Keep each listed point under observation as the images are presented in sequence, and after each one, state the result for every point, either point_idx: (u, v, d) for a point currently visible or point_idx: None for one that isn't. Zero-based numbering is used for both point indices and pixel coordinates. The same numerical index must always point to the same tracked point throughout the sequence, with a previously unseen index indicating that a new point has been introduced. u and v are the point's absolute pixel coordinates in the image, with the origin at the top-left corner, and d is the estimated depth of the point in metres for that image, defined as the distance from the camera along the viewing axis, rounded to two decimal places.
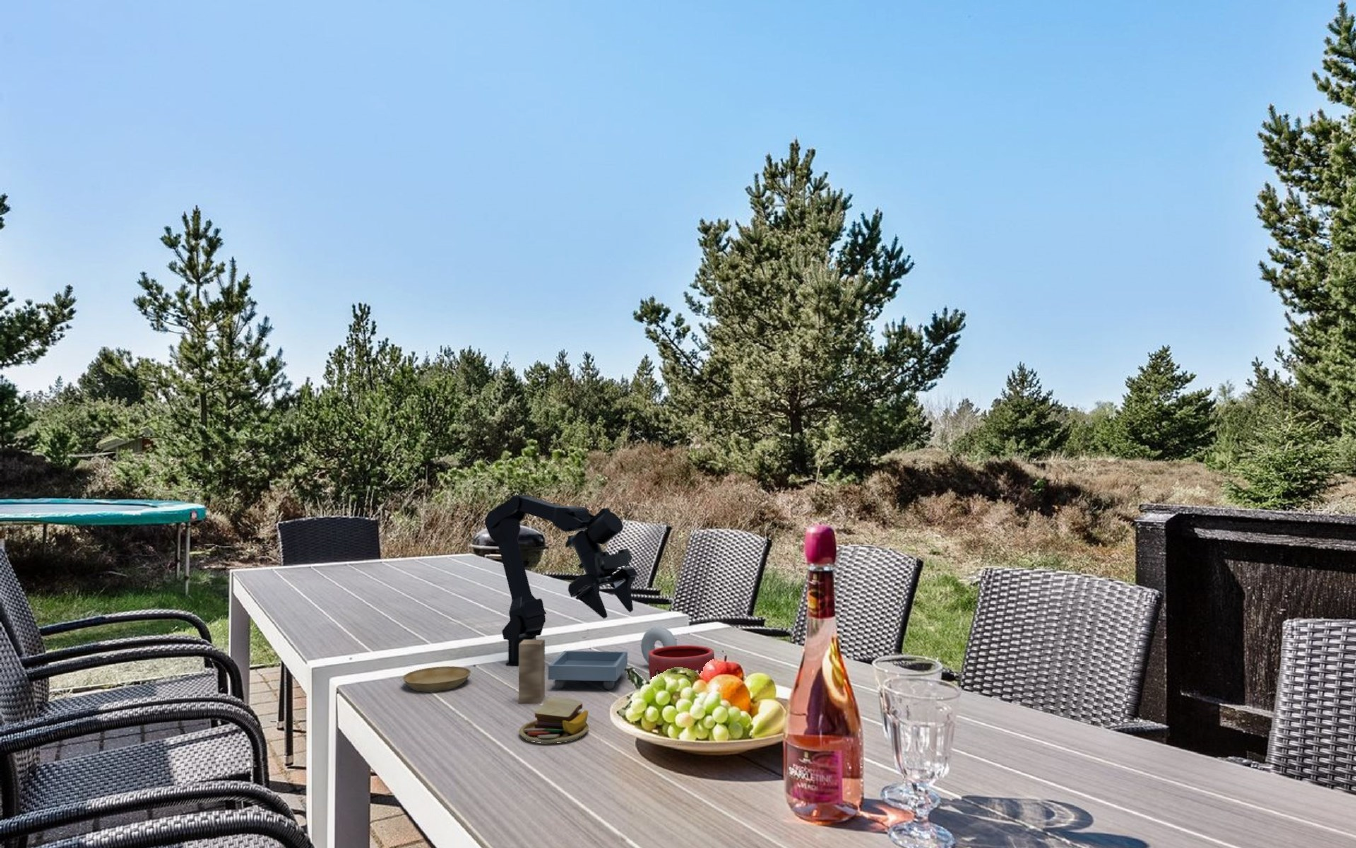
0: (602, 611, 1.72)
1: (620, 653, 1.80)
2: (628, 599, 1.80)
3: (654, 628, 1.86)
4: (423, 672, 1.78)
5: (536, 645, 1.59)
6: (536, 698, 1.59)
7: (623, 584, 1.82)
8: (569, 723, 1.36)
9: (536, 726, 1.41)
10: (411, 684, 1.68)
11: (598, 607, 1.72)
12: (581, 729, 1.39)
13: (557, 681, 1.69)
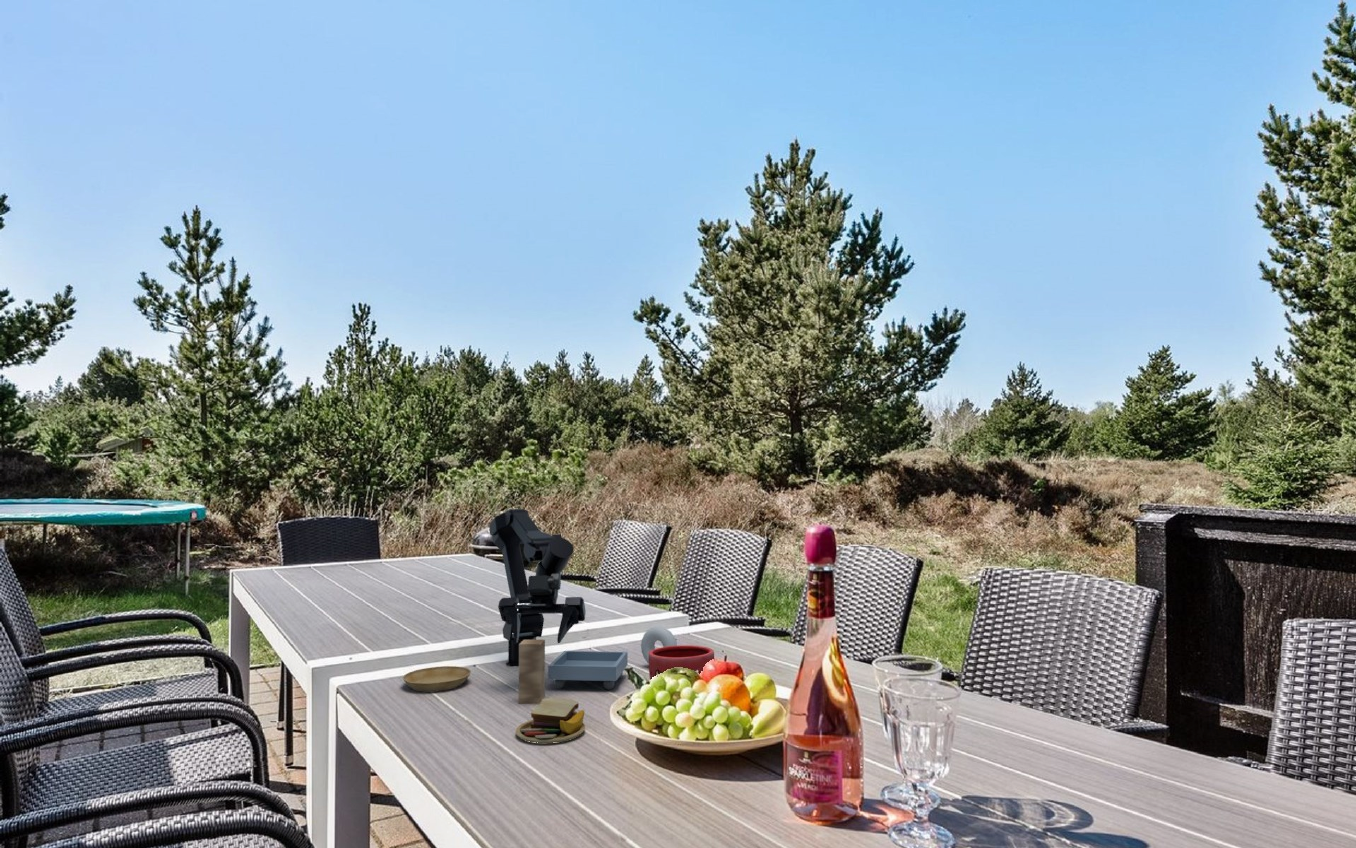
0: (513, 635, 1.67)
1: (620, 653, 1.80)
2: None
3: (654, 628, 1.86)
4: (423, 672, 1.78)
5: (536, 645, 1.59)
6: (536, 698, 1.59)
7: None
8: (566, 723, 1.36)
9: (532, 726, 1.41)
10: (411, 684, 1.68)
11: (513, 631, 1.68)
12: (578, 729, 1.39)
13: (557, 681, 1.69)
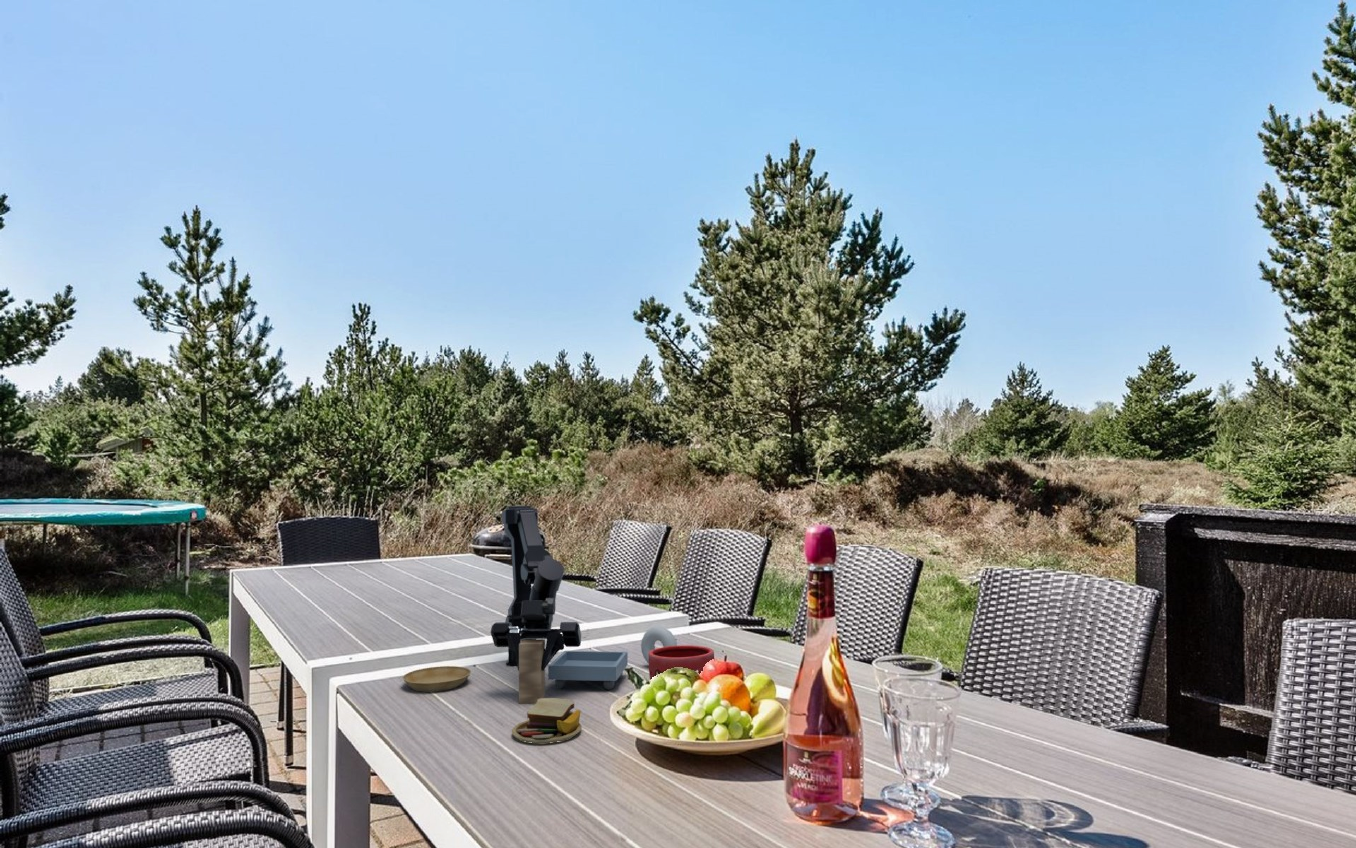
0: (516, 662, 1.61)
1: (620, 653, 1.80)
2: None
3: (654, 628, 1.86)
4: (423, 672, 1.78)
5: (536, 645, 1.59)
6: (536, 697, 1.59)
7: None
8: (563, 723, 1.36)
9: (528, 726, 1.41)
10: (411, 684, 1.68)
11: (516, 658, 1.62)
12: (574, 728, 1.40)
13: (557, 681, 1.69)
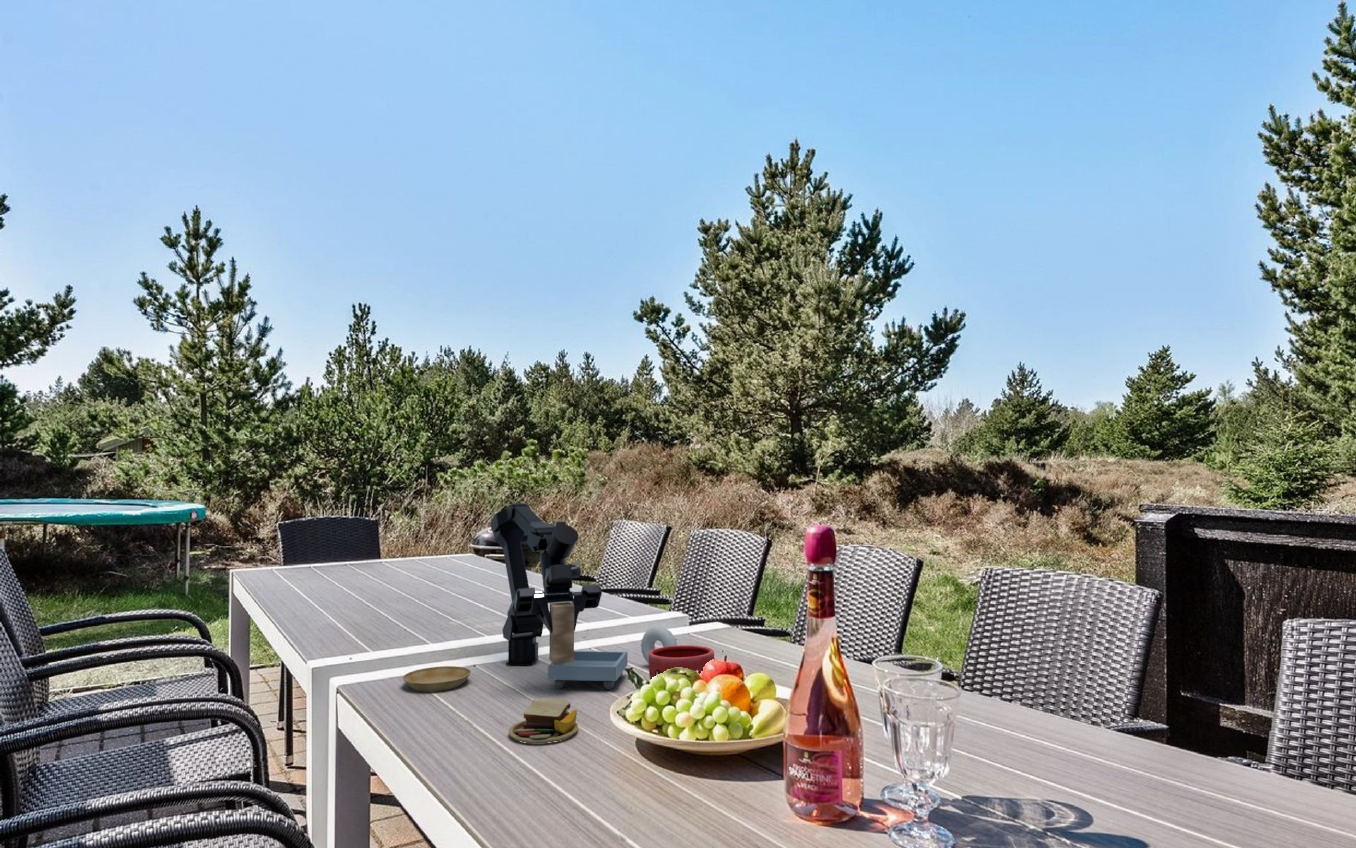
0: (548, 625, 1.65)
1: (620, 653, 1.80)
2: None
3: (654, 628, 1.86)
4: (423, 672, 1.78)
5: (570, 607, 1.65)
6: (570, 657, 1.65)
7: (572, 602, 1.70)
8: (561, 722, 1.36)
9: (525, 727, 1.41)
10: (411, 684, 1.68)
11: (546, 621, 1.66)
12: (571, 728, 1.40)
13: (557, 681, 1.69)
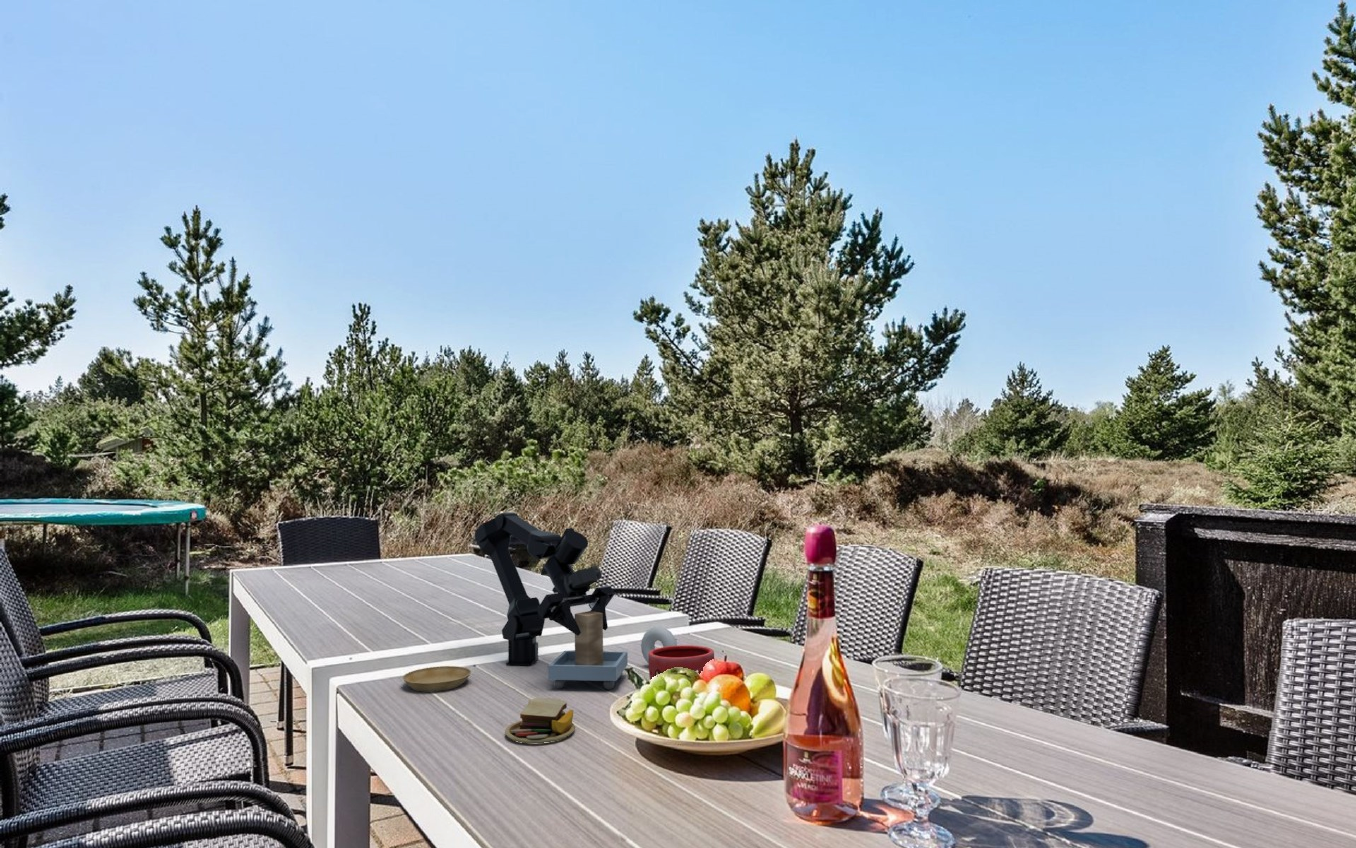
0: (575, 628, 1.71)
1: (620, 653, 1.80)
2: None
3: (654, 628, 1.86)
4: (423, 672, 1.78)
5: (599, 614, 1.74)
6: (600, 662, 1.73)
7: (597, 603, 1.80)
8: (558, 723, 1.36)
9: (521, 727, 1.41)
10: (411, 684, 1.68)
11: (571, 624, 1.71)
12: (568, 728, 1.40)
13: (557, 681, 1.69)
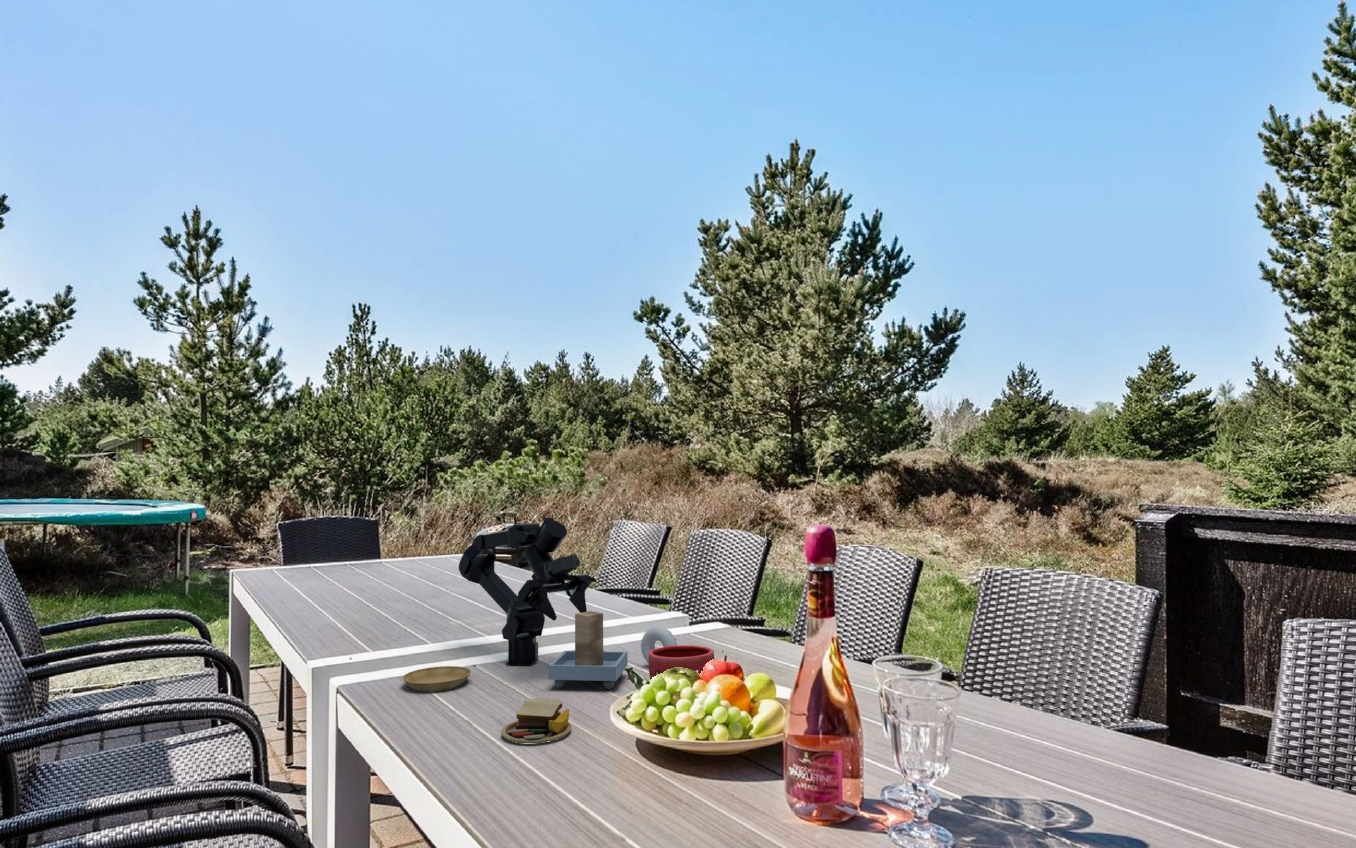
0: (551, 613, 1.77)
1: (620, 653, 1.80)
2: (582, 603, 1.85)
3: (654, 628, 1.86)
4: (423, 672, 1.79)
5: (600, 615, 1.74)
6: (600, 663, 1.73)
7: (577, 590, 1.87)
8: (555, 722, 1.36)
9: (517, 727, 1.41)
10: (411, 684, 1.68)
11: (547, 610, 1.78)
12: (564, 728, 1.40)
13: (557, 681, 1.69)
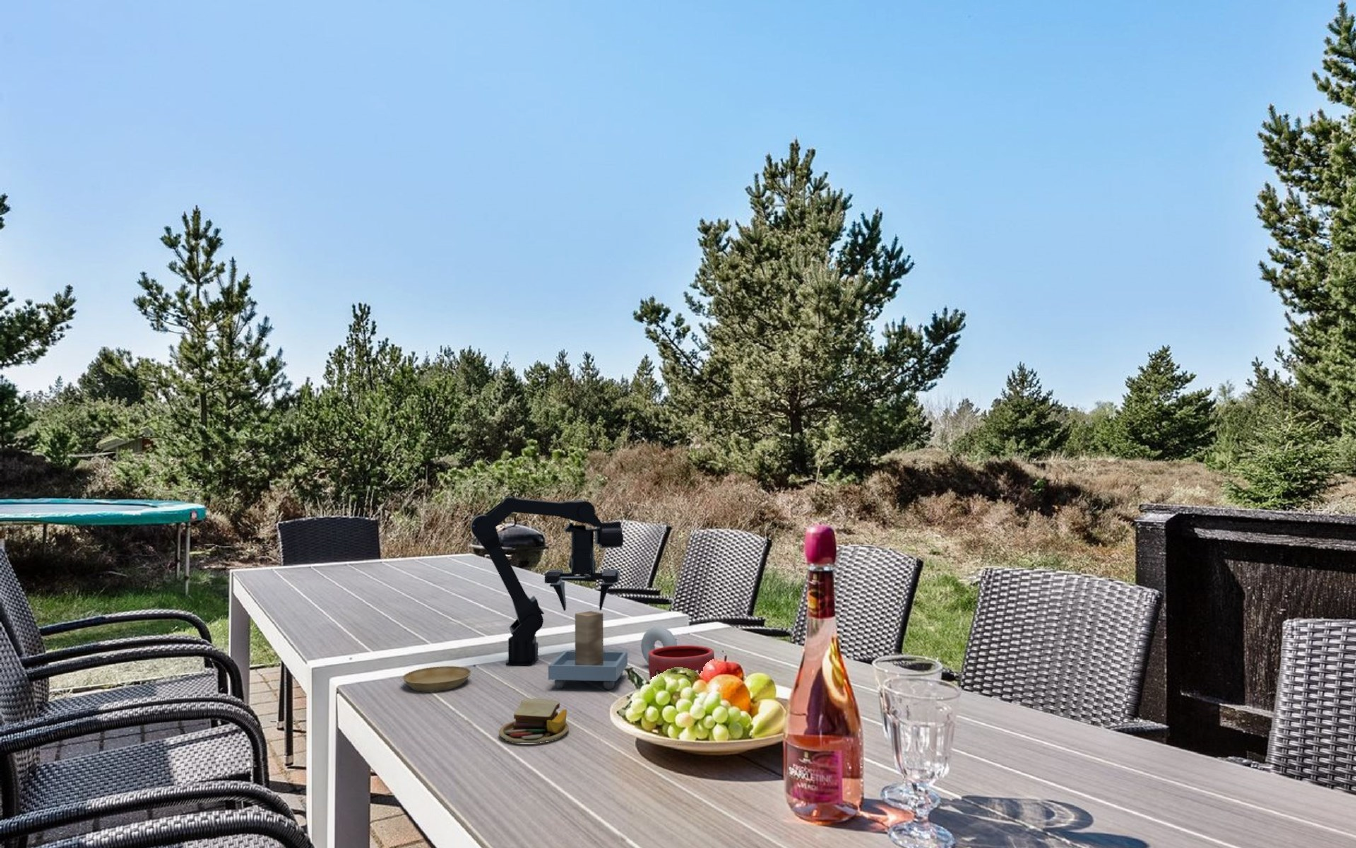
0: None
1: (620, 653, 1.80)
2: (565, 599, 1.99)
3: (654, 628, 1.86)
4: (423, 672, 1.79)
5: (600, 615, 1.74)
6: (600, 663, 1.73)
7: (563, 584, 1.99)
8: (553, 722, 1.36)
9: (515, 727, 1.40)
10: (411, 684, 1.68)
11: (604, 599, 1.98)
12: (562, 728, 1.40)
13: (557, 681, 1.69)
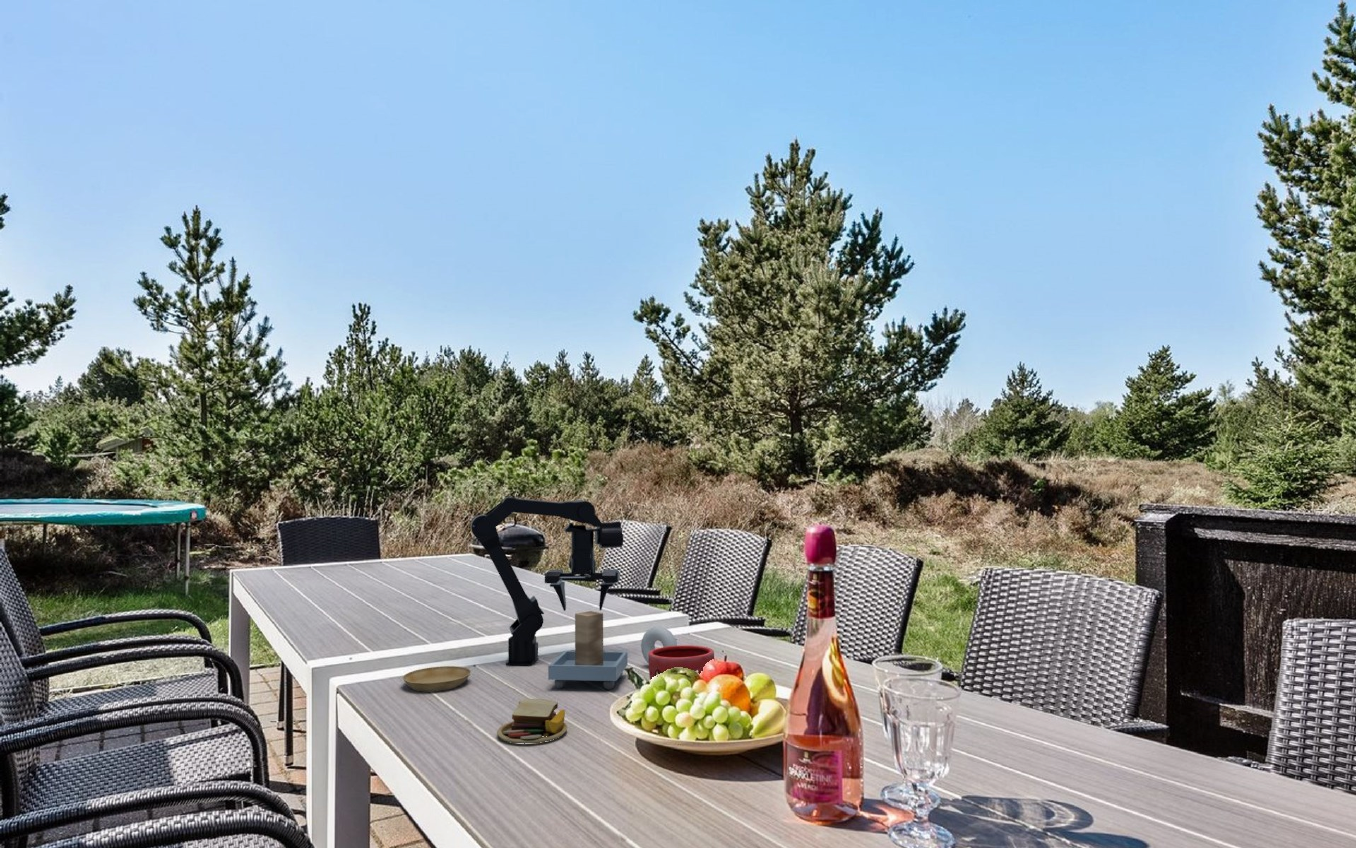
0: None
1: (620, 653, 1.80)
2: (565, 599, 1.99)
3: (654, 628, 1.86)
4: (423, 672, 1.79)
5: (600, 615, 1.74)
6: (600, 663, 1.73)
7: (563, 584, 1.99)
8: (552, 723, 1.36)
9: (513, 728, 1.40)
10: (411, 684, 1.68)
11: (604, 599, 1.98)
12: (561, 728, 1.40)
13: (557, 681, 1.69)
